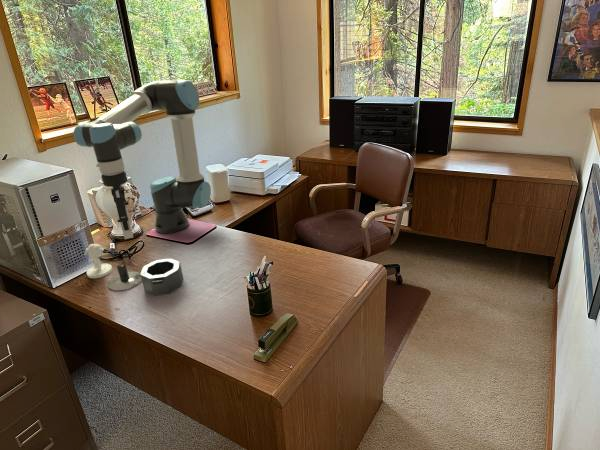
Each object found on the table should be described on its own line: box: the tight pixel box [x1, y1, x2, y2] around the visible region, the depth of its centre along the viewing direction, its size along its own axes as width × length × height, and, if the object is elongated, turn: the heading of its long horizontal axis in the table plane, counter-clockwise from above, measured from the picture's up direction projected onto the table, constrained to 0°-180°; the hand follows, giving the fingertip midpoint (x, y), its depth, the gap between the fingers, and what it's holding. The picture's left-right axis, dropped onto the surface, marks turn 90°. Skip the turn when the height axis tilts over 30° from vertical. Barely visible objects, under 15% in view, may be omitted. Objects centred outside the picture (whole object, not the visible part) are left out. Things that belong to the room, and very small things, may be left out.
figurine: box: [84, 243, 113, 279], centre depth 164 cm, size 9×9×12 cm
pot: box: [140, 257, 184, 297], centre depth 153 cm, size 16×13×7 cm
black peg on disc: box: [107, 263, 142, 292], centre depth 157 cm, size 12×12×7 cm
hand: (128, 230), depth 150 cm, fingers open, 13 cm apart
